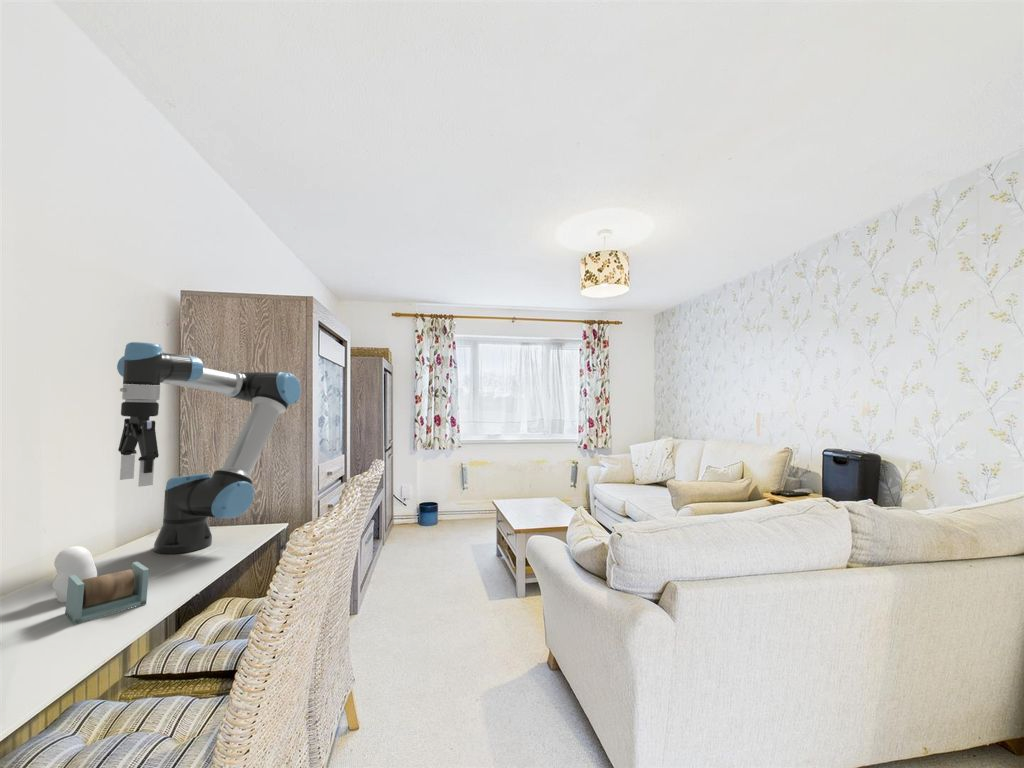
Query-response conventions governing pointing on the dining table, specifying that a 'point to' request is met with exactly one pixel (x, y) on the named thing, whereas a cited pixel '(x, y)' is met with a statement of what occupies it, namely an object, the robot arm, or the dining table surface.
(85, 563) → the figurine
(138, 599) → the cradle
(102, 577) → the roll
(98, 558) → the dining table surface
